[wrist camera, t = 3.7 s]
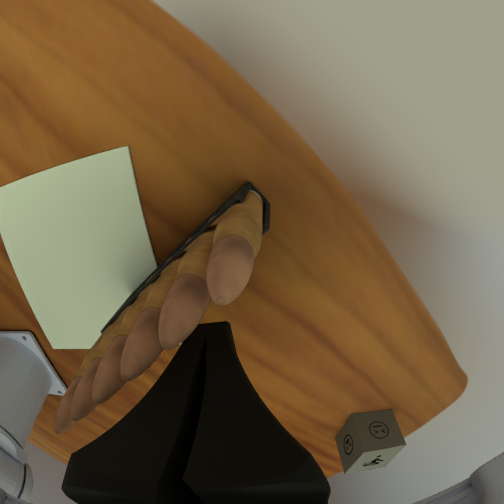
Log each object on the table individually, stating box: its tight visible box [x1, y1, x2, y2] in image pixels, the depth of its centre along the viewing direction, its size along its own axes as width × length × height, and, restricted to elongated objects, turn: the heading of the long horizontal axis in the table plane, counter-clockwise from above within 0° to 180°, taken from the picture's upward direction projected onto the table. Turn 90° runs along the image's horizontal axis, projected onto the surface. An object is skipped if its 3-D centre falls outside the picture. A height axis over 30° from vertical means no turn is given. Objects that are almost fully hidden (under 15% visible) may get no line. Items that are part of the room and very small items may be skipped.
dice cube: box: [335, 409, 406, 474], centre depth 26 cm, size 5×5×5 cm
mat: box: [0, 146, 182, 349], centre depth 19 cm, size 12×14×1 cm
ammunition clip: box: [55, 182, 270, 434], centre depth 13 cm, size 11×2×12 cm, turn 132°
